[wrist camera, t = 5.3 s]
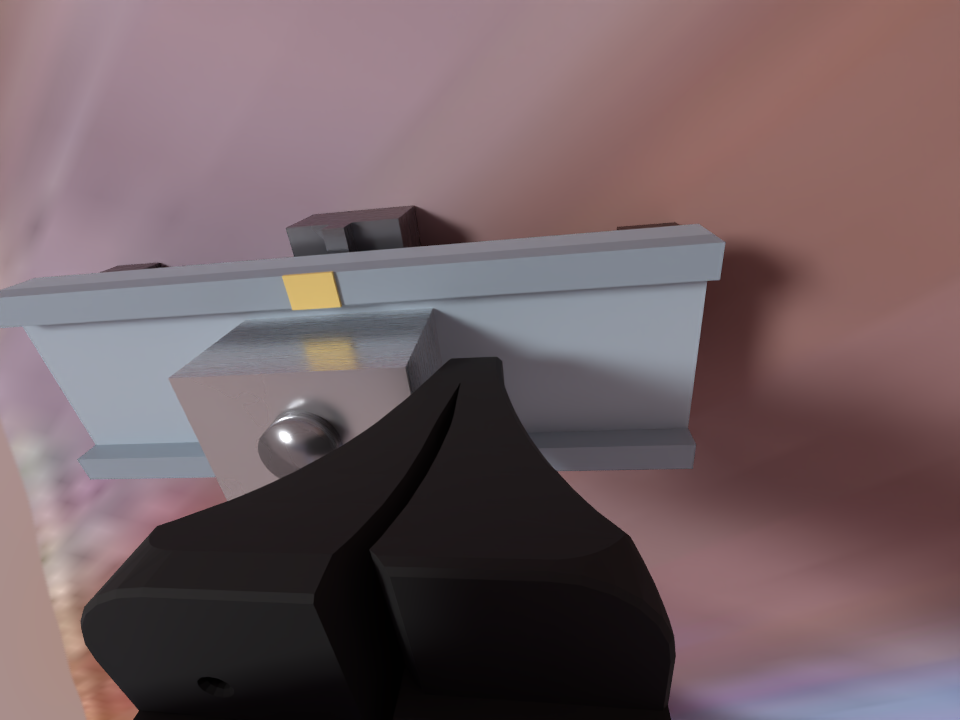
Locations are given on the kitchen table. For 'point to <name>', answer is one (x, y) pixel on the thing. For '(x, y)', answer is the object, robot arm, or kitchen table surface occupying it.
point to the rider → (300, 388)
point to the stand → (354, 233)
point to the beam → (399, 286)
